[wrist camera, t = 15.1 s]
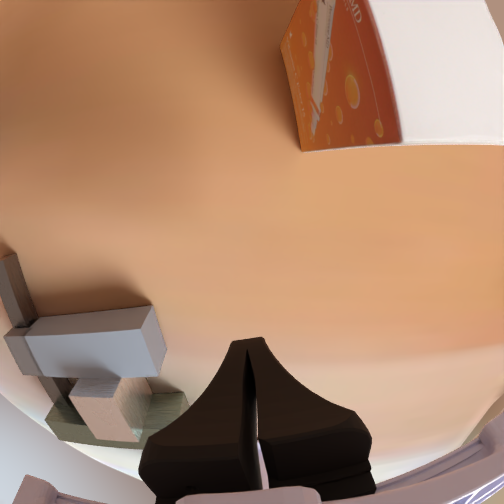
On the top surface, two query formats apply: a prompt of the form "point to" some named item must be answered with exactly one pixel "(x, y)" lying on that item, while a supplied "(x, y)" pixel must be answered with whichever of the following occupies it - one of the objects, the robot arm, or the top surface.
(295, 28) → the small box
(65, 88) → the top surface
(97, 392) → the steel block
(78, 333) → the grey rectangular bar
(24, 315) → the vise
